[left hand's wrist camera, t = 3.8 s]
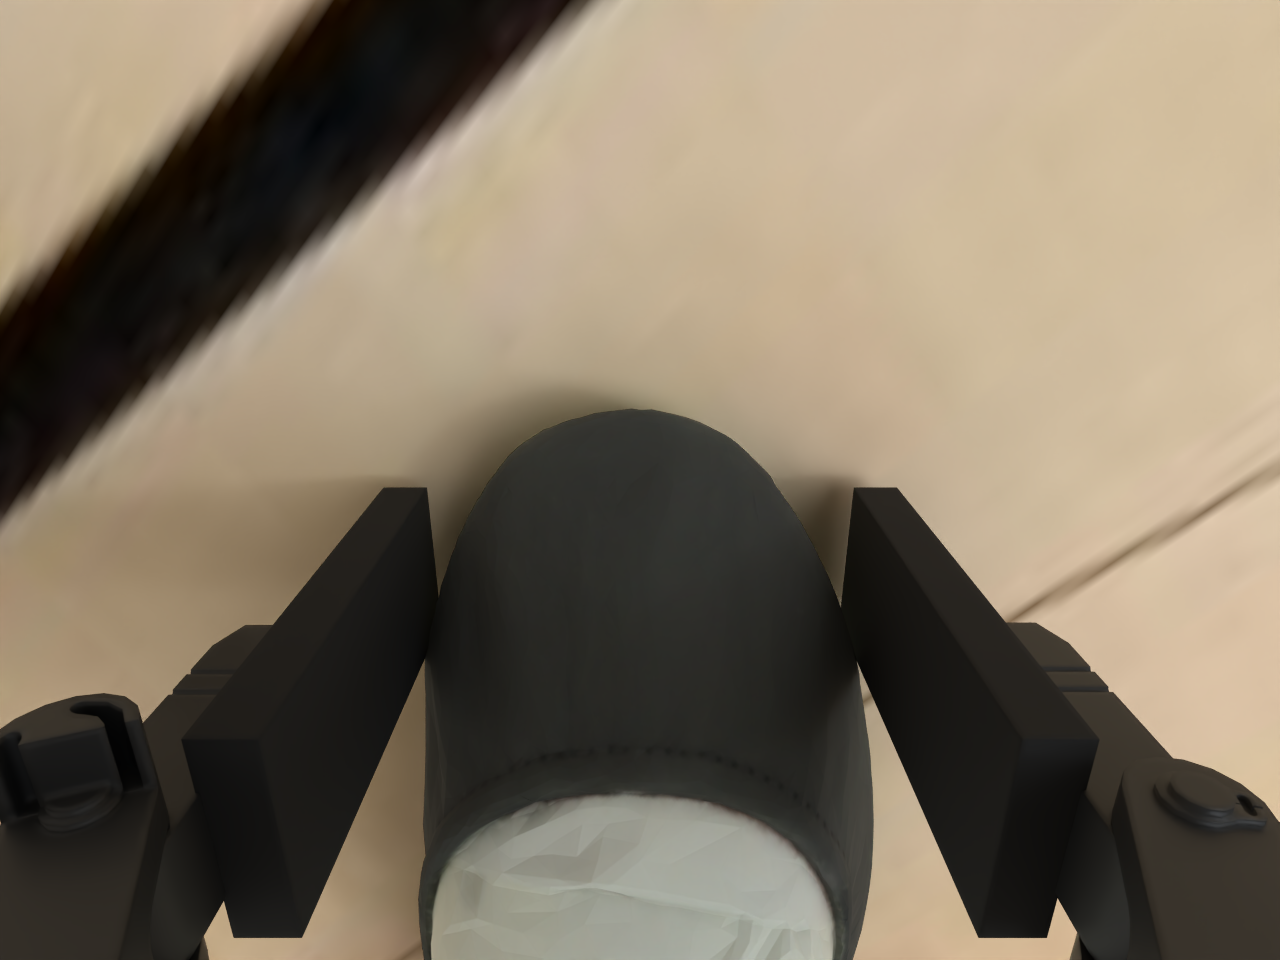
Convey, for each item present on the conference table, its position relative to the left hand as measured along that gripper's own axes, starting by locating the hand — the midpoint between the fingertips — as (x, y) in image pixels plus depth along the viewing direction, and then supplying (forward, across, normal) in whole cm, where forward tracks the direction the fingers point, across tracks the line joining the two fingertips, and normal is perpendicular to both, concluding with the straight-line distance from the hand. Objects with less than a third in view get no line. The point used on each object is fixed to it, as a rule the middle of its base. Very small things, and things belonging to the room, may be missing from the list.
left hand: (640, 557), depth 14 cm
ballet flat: (+1, 0, -9) cm, 9 cm away
